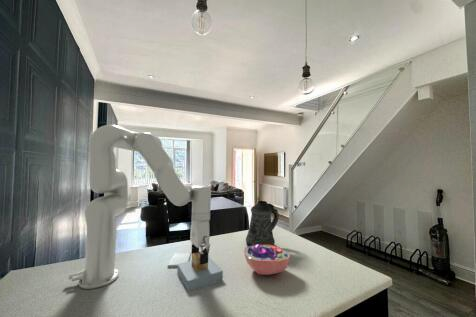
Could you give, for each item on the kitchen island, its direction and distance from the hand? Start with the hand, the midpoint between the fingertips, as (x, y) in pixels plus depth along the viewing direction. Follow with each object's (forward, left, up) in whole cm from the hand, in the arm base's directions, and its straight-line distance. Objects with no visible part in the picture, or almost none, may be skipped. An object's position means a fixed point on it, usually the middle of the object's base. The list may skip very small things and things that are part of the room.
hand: (199, 258), depth 79 cm
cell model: (+26, -11, -7) cm, 29 cm away
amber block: (0, 0, -4) cm, 4 cm away
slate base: (0, 0, -8) cm, 8 cm away
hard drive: (-3, +17, -8) cm, 19 cm away
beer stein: (+43, +13, -7) cm, 46 cm away
